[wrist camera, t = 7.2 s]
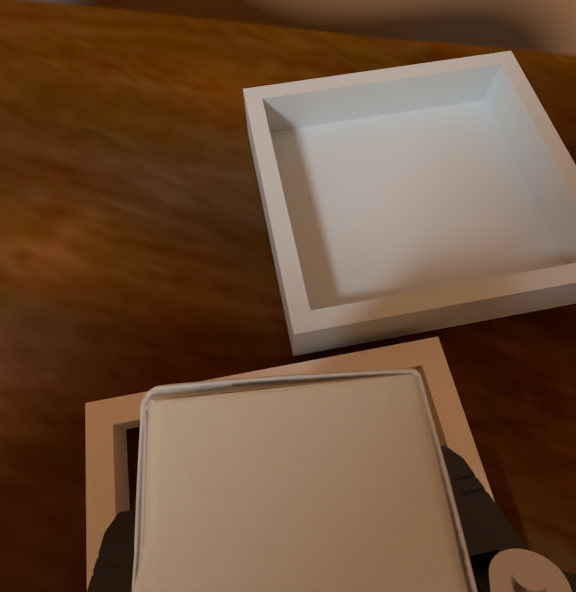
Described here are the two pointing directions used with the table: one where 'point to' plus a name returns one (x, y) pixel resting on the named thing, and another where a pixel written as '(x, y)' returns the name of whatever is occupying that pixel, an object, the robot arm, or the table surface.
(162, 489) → the skincare box
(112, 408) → the holder
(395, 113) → the tray
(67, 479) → the table surface
